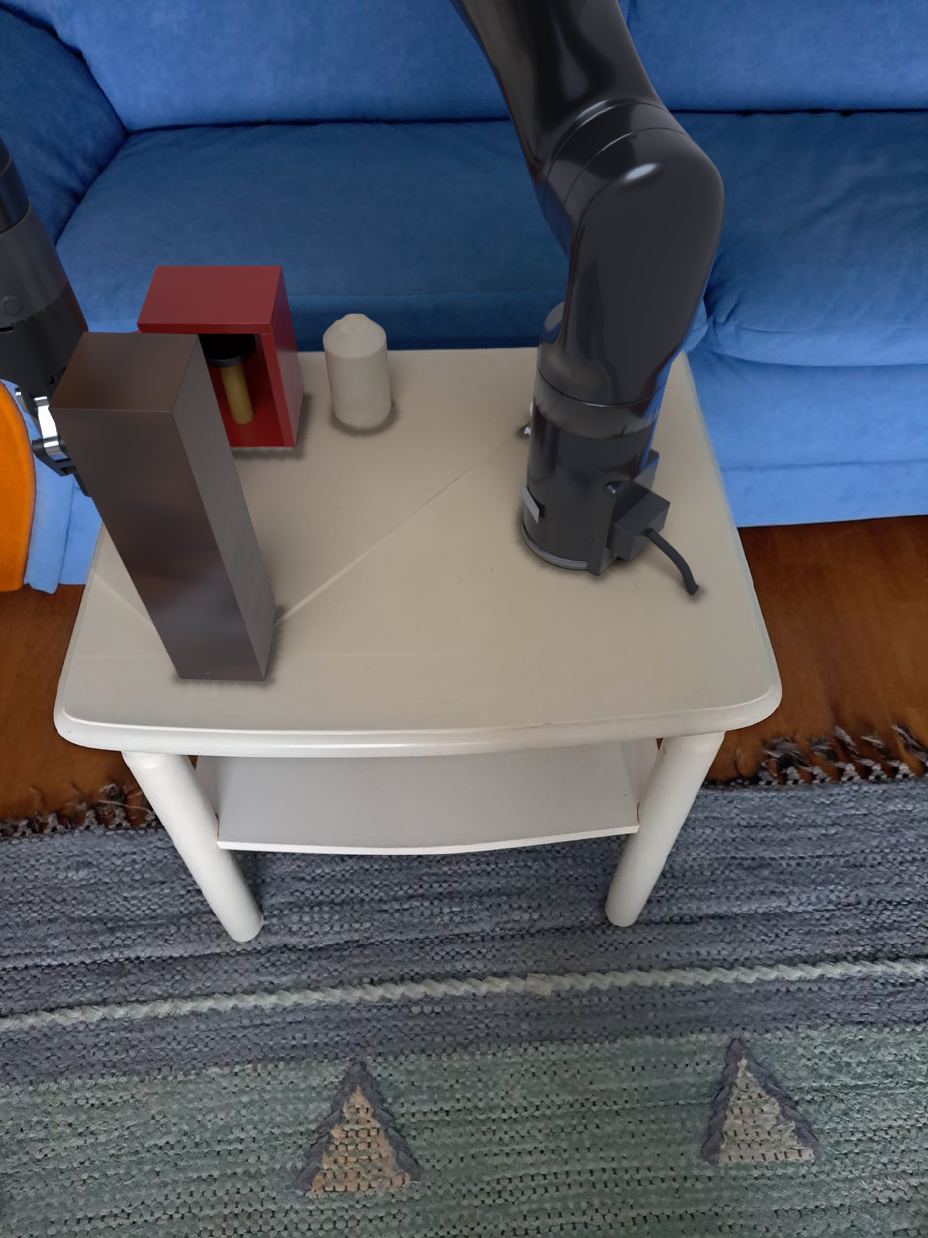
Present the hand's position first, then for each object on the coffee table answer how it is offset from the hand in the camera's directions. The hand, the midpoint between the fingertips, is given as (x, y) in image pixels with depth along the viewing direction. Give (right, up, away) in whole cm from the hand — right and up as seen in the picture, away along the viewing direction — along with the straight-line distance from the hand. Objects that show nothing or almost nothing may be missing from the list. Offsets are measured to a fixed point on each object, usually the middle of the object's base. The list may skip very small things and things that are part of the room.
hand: (99, 482), depth 67 cm
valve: (+8, +8, +13) cm, 18 cm away
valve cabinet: (+8, +8, +14) cm, 18 cm away
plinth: (+10, -13, 0) cm, 16 cm away
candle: (+19, +9, +15) cm, 26 cm away
